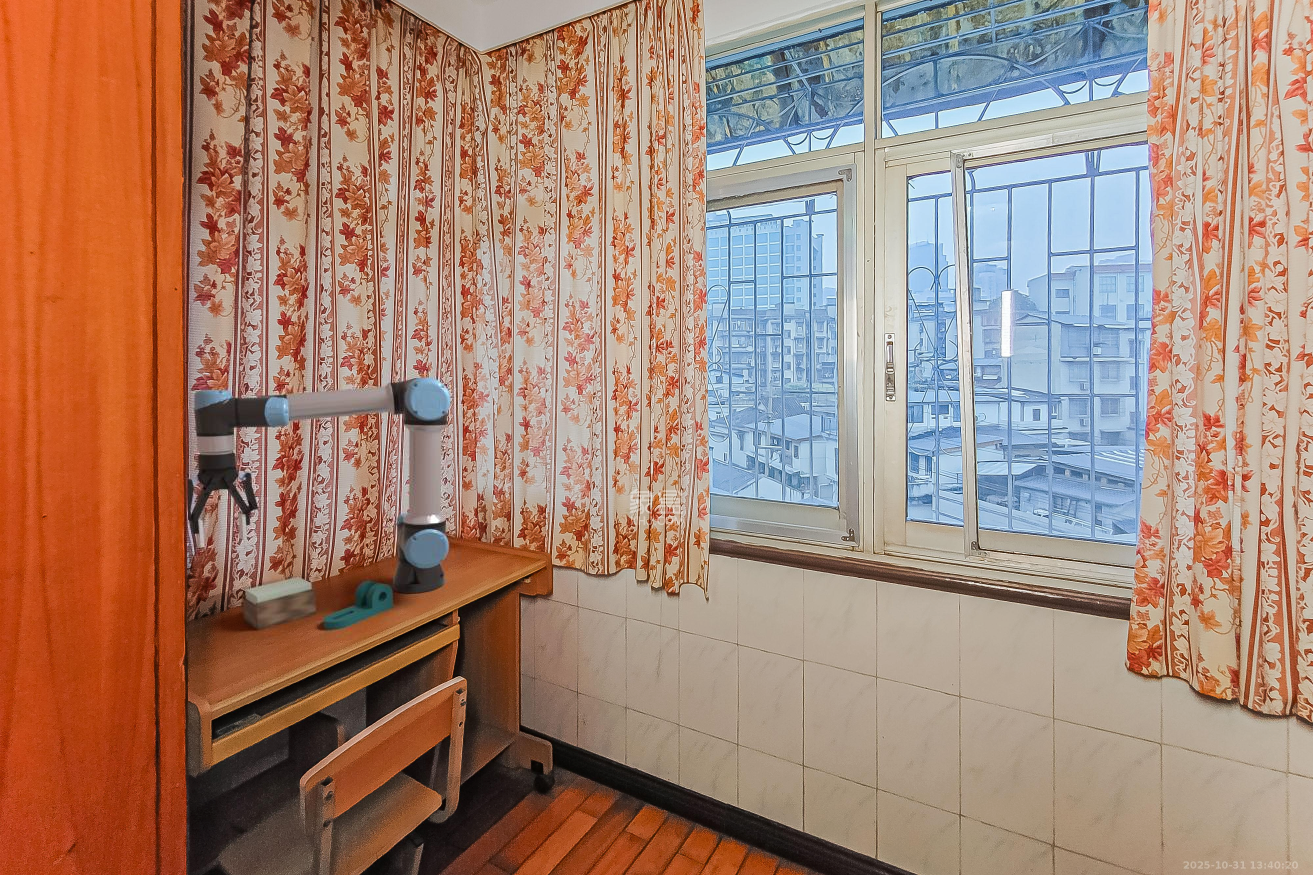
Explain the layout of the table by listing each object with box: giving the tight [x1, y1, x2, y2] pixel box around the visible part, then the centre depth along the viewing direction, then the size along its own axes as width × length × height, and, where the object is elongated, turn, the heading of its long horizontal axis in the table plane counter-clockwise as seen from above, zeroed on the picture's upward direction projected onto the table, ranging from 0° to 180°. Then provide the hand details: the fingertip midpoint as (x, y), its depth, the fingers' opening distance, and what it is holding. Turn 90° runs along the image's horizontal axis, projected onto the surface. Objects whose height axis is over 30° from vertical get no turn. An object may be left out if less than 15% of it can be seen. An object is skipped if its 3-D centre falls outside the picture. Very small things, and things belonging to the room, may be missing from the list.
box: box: [241, 588, 317, 631], centre depth 161 cm, size 14×10×7 cm
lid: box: [245, 576, 313, 605], centre depth 161 cm, size 13×8×2 cm, turn 142°
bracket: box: [322, 580, 394, 631], centre depth 162 cm, size 18×7×8 cm, turn 155°
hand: (222, 542), depth 150 cm, fingers open, 8 cm apart
